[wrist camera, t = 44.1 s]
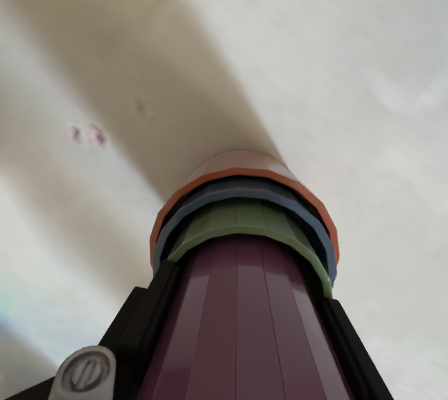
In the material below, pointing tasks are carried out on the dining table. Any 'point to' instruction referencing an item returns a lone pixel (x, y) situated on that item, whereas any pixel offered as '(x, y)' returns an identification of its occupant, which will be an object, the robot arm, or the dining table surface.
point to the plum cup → (243, 329)
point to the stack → (250, 189)
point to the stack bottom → (250, 166)
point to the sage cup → (252, 224)
